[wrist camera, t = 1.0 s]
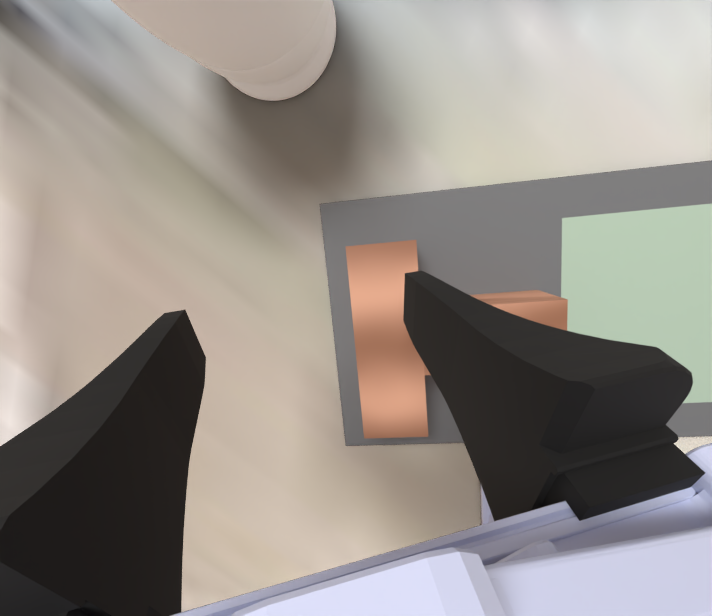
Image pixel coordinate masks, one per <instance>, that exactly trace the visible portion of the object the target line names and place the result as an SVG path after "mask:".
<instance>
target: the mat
mask: <svg viewBox="0 0 712 616" xmlns="http://www.w3.org/2000/svg"><path fill="white" fill-rule="evenodd" d="M320 211H321V221H322V230H323V239H324V249H325V258H326V267H327V276H328V286H329V295H330V304H331V314H332V323H333V332H334V341H335V351H336V360H337V369H338V378H339V388H340V397H341V406H342V416H343V425H344V434H345V443H346V446H360V445H397V444H435V443H464V441H463V439H462V436H461V434H460V432H459V429H458V427H457V425H456V423H455V420H454V418H453V416H452V414H451V411H450V409H449V407H448V405H447V403H446V401H445V399H444V397H443V395H442V393H441V391H440V390H439V388H438V386H437V385H436V383H435V381H434V380H433V378H432V376H431V375H425V390H426V406H427V422H428V437H398V438H364V432H363V422H362V411H361V401H360V391H359V380H358V370H357V360H356V349H355V339H354V329H353V319H352V308H351V298H350V288H349V277H348V267H347V257H346V246H356V245H366V244H377V243H387V242H398V241H408V240H416V242H417V258H418V271H424V272H426V273H428V274H430V275H432V276H434V277H436V278H438V279H440V280H442V281H444V282H445V283H447V284H449V285H451V286H453V287H455V288H457V289H459V290H460V291H462V292H464V293H466V294H468V295H476V294H489V293H503V292H516V291H529V290H539V291H542V292H546V293H549V294H552V295H555V296H558V297H561V298H565V299H568V314H567V331H570V332H575V333H579V334H583V335H588V336H593V337H598V338H603V339H608V340H614V341H620V342H627V343H634V344H640V345H647V346H653V347H657V348H659V349H661V350H662V351H663V352H665V353H666V354H668V355H669V356H670V357H672V358H673V359H674V360H676V361H677V362H679V363H680V364H681V365H683V366H684V367H686V368H687V369H688V370H689V371H691V372H692V377H693V385H692V388H691V391H690V393H689V394H688V396H687V397H686V399H685V401H684V402H683V403H682V404H681V406H680V407H679V408H678V410H677V411H676V412H675V413H674V415H673V416H672V417H671V419H670V420H669V421H668V422H667V424H666V425H667V426H668V427H669V428H670V429H671V430H672V431H673V432H675V433H676V434H677V435H678V437H695V436H712V161H703V162H694V163H685V164H676V165H667V166H658V167H649V168H639V169H630V170H621V171H612V172H603V173H594V174H585V175H576V176H567V177H558V178H549V179H540V180H531V181H522V182H513V183H504V184H495V185H486V186H477V187H468V188H459V189H450V190H441V191H432V192H423V193H414V194H405V195H396V196H387V197H378V198H369V199H360V200H351V201H342V202H333V203H323V204H320Z"/></svg>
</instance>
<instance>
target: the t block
mask: <svg viewBox="0 0 712 616" xmlns="http://www.w3.org/2000/svg"><path fill="white" fill-rule="evenodd" d="M346 257H347V267H348V277H349V288H350V298H351V308H352V319H353V329H354V339H355V349H356V360H357V370H358V380H359V391H360V401H361V411H362V422H363V432H364V438H398V437H428V422H427V406H426V390H425V375H431V374H430V373H429V371H428V369H427V368H426V366H425V364H424V363H423V361H422V359H421V357H420V356H419V354H418V352H417V350H416V349H415V347H414V345H413V343H412V341H411V339H410V336H409V334H408V331H407V329H406V326H405V324H404V321H403V315H404V284H405V273H410V272H416V271H418V258H417V242H416V240H408V241H398V242H387V243H377V244H366V245H356V246H346ZM470 296H472V297H474V298H476V299H478V300H481V301H483V302H485V303H487V304H490V305H492V306H494V307H496V308H499V309H501V310H504V311H506V312H509V313H511V314H514V315H517V316H520V317H522V318H525V319H528V320H531V321H534V322H538V323H541V324H544V325H548V326H551V327H555V328H559V329H562V330H566V331H567V314H568V299H565V298H561V297H558V296H555V295H552V294H549V293H546V292H542V291H539V290H529V291H516V292H503V293H489V294H476V295H470Z"/></svg>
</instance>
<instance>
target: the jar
mask: <svg viewBox="0 0 712 616" xmlns="http://www.w3.org/2000/svg"><path fill="white" fill-rule="evenodd" d="M111 1H112V2H114V3H115V4H116V5H117V6H118V7H119V8H120V9H121V10H123V11H124V12H125V13H126V14H127V15H128V16H130V17H131V18H132V19H133V20H134V21H136V22H137V23H138V24H139V25H141V26H142V27H143V28H145V29H146V30H147V31H149V32H150V33H151V34H153V35H154V36H155V37H157V38H158V39H160V40H161V41H163V42H164V43H166V44H167V45H169V46H171V47H172V48H174V49H176V50H177V51H179V52H181V53H183V54H185V55H187V56H189V57H190V58H192V59H193V60H195V61H196V62H198V63H199V64H201V65H202V66H204V67H206V68H207V69H209V70H211V71H213V72H215V73H217V74H219V75H221V76H223V77H225V78H226V79H227V80H228V81H229V82H230V83H231V84H232V85H233V86H234V87H235V88H237V89H238V90H240V91H241V92H243V93H245V94H247V95H249V96H251V97H254V98H257V99H261V100H267V101H278V100H284V99H288V98H292V97H294V96H296V95H298V94H300V93H302V92H304V91H305V90H307V89H308V88H309V87H310V86H312V85H313V84H314V83H315V82H316V81H317V79H318V78H319V77H320V76H321V74H322V73H323V71H324V70H325V68H326V66H327V64H328V62H329V60H330V58H331V55H332V52H333V48H334V44H335V38H336V16H335V10H334V5H333V2H332V0H111Z"/></svg>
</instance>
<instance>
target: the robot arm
mask: <svg viewBox="0 0 712 616" xmlns="http://www.w3.org/2000/svg"><path fill="white" fill-rule="evenodd" d="M403 321H404V324H405V326H406V329H407V331H408V334H409V336H410V339H411V341H412V343H413V345H414V347H415V349H416V350H417V352H418V354H419V356H420V357H421V359H422V361H423V363H424V364H425V366H426V368H427V369H428V371H429V373H430V374H431V376H432V378H433V380H434V381H435V383H436V385H437V386H438V388H439V390H440V391H441V393H442V395H443V397H444V399H445V401H446V403H447V405H448V407H449V409H450V411H451V414H452V416H453V418H454V420H455V423H456V425H457V427H458V429H459V432H460V434H461V436H462V439H463V441H464V444H465V446H466V448H467V451H468V453H469V455H470V458H471V460H472V463H473V466H474V468H475V471H476V473H477V476H478V478H479V481H480V489H481V520H482V525H480V526H476V527H473V528H470V529H466V530H463V531H459V532H456V533H452V534H449V535H446V536H442V537H439V538H435V539H432V540H428V541H425V542H422V543H418V544H415V545H411V546H408V547H404V548H401V549H398V550H394V551H391V552H387V553H384V554H380V555H377V556H373V557H370V558H367V559H363V560H360V561H356V562H353V563H349V564H346V565H343V566H339V567H336V568H332V569H329V570H325V571H322V572H319V573H315V574H312V575H308V576H305V577H301V578H298V579H295V580H291V581H288V582H284V583H281V584H277V585H274V586H270V587H267V588H264V589H260V590H257V591H253V592H250V593H246V594H243V595H240V596H236V597H233V598H229V599H226V600H222V601H219V602H216V603H212V604H209V605H205V606H202V607H198V608H195V609H192V610H188V611H185V612H181V591H182V554H183V530H184V515H185V501H186V489H187V478H188V467H189V459H190V453H191V447H192V443H193V438H194V433H195V428H196V424H197V419H198V414H199V409H200V404H201V399H202V394H203V389H204V382H205V363H206V357H205V355H204V353H203V350H202V348H201V346H200V343H199V341H198V339H197V336H196V334H195V332H194V329H193V327H192V325H191V322H190V320H189V318H188V315H187V313H186V311H185V310H181V311H175V312H169V313H164V314H163V315H162V316H161V317H160V318H158V319H157V320H156V321H155V322H154V323H153V324H152V325H151V326H150V327H149V328H148V329H147V330H146V331H145V332H144V333H143V334H142V335H141V336H140V337H139V338H138V339H137V340H136V341H135V342H134V343H132V344H131V345H130V346H129V347H128V348H127V349H126V350H125V351H124V352H123V353H122V354H121V355H120V356H119V357H118V358H117V359H116V360H114V361H113V362H112V363H111V364H110V365H109V366H108V367H107V368H105V369H104V370H103V371H102V372H101V373H100V374H99V375H98V376H96V377H95V378H94V379H93V380H92V381H91V382H90V383H88V384H87V385H86V386H85V387H84V388H82V389H81V390H80V391H79V392H77V393H76V394H75V395H73V396H72V397H71V398H70V399H68V400H67V401H66V402H64V403H63V404H62V405H60V406H59V407H58V408H56V409H55V410H54V411H52V412H51V413H49V414H48V415H47V416H45V417H44V418H42V419H41V420H39V421H38V422H36V423H35V424H33V425H32V426H30V427H29V428H27V429H26V430H24V431H23V432H21V433H20V434H18V435H17V436H15V437H14V438H12V439H11V440H9V441H8V442H6V443H5V444H3V445H2V446H0V616H712V443H710V444H706V445H703V446H700V447H697V448H695V449H693V450H691V451H689V452H688V453H686V454H684V453H683V452H682V451H681V450H680V449H679V448H678V447H677V446H675V445H674V444H673V443H675V442H677V440H678V435H677V434H676V433H675V432H673V431H672V430H671V429H670V428H669V427H668V426H667V425H666V424H667V422H668V421H669V420H670V419H671V417H672V416H673V415H674V413H675V412H676V411H677V410H678V408H679V407H680V406H681V404H682V403H683V402H684V401H685V399H686V397H687V396H688V394H689V393H690V391H691V388H692V385H693V377H692V372H691V371H689V370H688V369H687V368H686V367H684V366H683V365H681V364H680V363H679V362H677V361H676V360H674V359H673V358H672V357H670V356H669V355H668V354H666V353H665V352H663V351H662V350H661V349H659V348H657V347H653V346H647V345H640V344H634V343H627V342H620V341H614V340H608V339H603V338H598V337H593V336H588V335H583V334H579V333H575V332H570V331H566V330H562V329H559V328H555V327H551V326H548V325H544V324H541V323H538V322H534V321H531V320H528V319H525V318H522V317H520V316H517V315H514V314H511V313H509V312H506V311H504V310H501V309H499V308H496V307H494V306H492V305H490V304H487V303H485V302H483V301H481V300H478V299H476V298H474V297H472V296H470V295H468V294H466V293H464V292H462V291H460V290H459V289H457V288H455V287H453V286H451V285H449V284H447V283H445V282H444V281H442V280H440V279H438V278H436V277H434V276H432V275H430V274H428V273H426V272H424V271H416V272H410V273H405V284H404V315H403Z"/></svg>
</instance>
